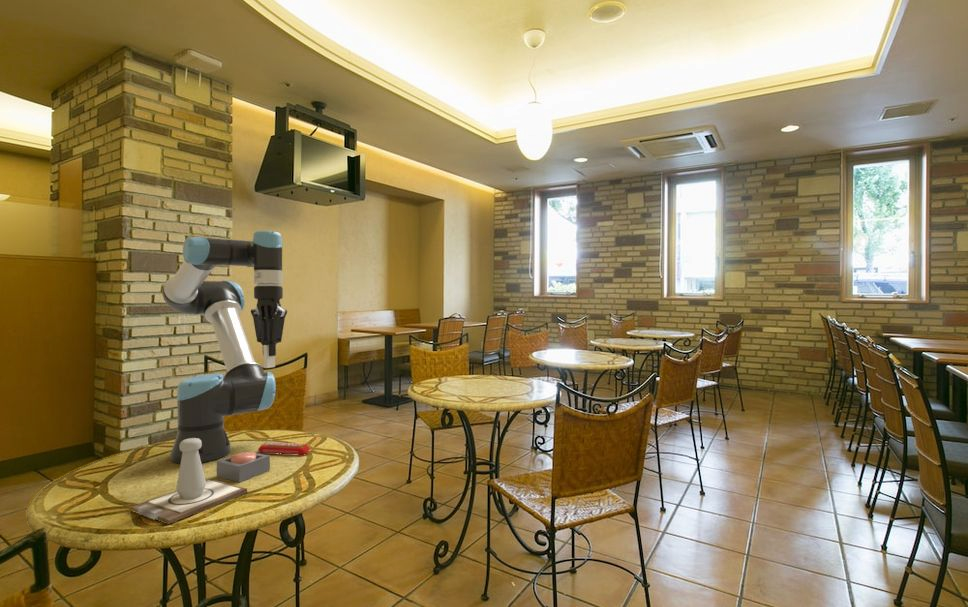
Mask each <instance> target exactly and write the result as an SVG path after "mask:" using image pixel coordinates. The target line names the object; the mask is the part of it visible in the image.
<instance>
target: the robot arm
mask: <svg viewBox="0 0 968 607" xmlns="http://www.w3.org/2000/svg"><path fill="white" fill-rule="evenodd" d="M252 238H253V239H252V240H241V239H239V240H238V239H225V238H224V239H223V238H213V237H212V238H211V237H205V236H204V237H203V236H198V237H197V236H195V237H194V236H190V237H187V238H185V239H184V241H183V245H182V246H183V247H182V258H183V260H184V261H183V262H182V264H181V265H180V267H179V268H178V269H177V271H176V273H175V275H174V276H172V277H170V278H169V279H167V280H166V282H165V283H164V285H163V286H162V291H161V292H162V293H161V294H162V298H163V300H164V302H165V303H166V304H167V306H169V307H170V308H171V309H172V310H173V311H176V312H178V313H181V314H185V315H203V316H204V318H205V320H206V321H207V322H208V323H210V324H212V328H213V331H214V334H215V337H216V340H217V343H218V344H217V345H218V347H219V350H220V354H221V356H222V359H223V363H224V366H225V369H226V373H225V374H224V375H223V373H220V372H214V373H205V374H200V375H195V376H192V377H191V376H190V377H188V378H186V379H183V380H181V382H179V384H178V385H177V394H176V401H177V402H176V403H177V433H176V436H175V440H174V443H173V446H172V449H171V452H170V461H171V462H172V463H175V464H181V459H182V453H183V452H182V451H180V447H179V446H180V443H181V442H182V441H183V440H185V439H189V438H199V439H200V440H201V442H202V446H201V448H200V449H199V450H198V452H199V456H200V460H201V463H206V462H210V461H215V460H220V459H221V458H222V459H223V458H225V457H226V456H228V455H229V454H230V453H231V448H232V447H231V442H230V439H229V437H228V434H227V432H226V429H225V425H224V424H225V423H224V418H225V417H228V416H234V415H240V414H247V413H253V412H259V411H262V410H267V409H269V408H270V407H271V406H272V405H273V403H274V400H275V397H276V392H277V391H276V389H277V387H276V378H275V375H274V374H273V373H272V372H271V371H267V372H265V370H264V369H270V368H275V367H276V355H277V350H276V349H277V344H279V343H281V342H282V340H283V334H284V332H283V331H284V326H285V320H286V319H285V318H286V316H287V314H288V310H287V309H283V307H282V303H281V301H280V300H283V298H284V297H283V295H284V292H283V291H284V290H283V289H284V287H283V286H281V285H283V284H284V281H283V280H284V278H283V239H282V234H281V233H280V232H277V231H272V230H257V231H255V232H254V233H253V236H252ZM217 266H234V267H235V266H236V267H237V266H239V267H240V266H241V267H248V268H253V283H254V284H255V286H254V287H253V298H254V299H255V300H257V302H256V307H255V308H254V309H253V308H252V309H250V314H251V316H252V319H253V325H254V331H255V337H256V343H260V344H261V346H262V358H263V366H262V364H260V363H258V362H256V360H255V358H254V355H253V351H252V349H251V346H250V342H249V340H248V338H247V334H246V333H245V329H244V327H243V323H242V320H241V317H240V315H241V313H242V311H244V307H245V297H244V296H245V294H244V291H243V289H242V287H241V285H240V284H238V283H237V282H235V281H230V280H229V281H228V280H219V281H215V280H206V279H207V278H208V277H209V275H210V274H211V272H212V271H213V270H214V269H215V267H217Z"/></svg>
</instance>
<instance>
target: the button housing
mask: <svg viewBox="0 0 968 607" xmlns="http://www.w3.org/2000/svg"><path fill="white" fill-rule="evenodd" d="M245 452H251V451H250V450H247V451H245ZM255 453H256V459H254V460H251V461H249V462H246V463H243V464H237V463H233V462H231V456H228V457H223V458H222V459H221V458H220V459H217V460H216V477H217V476H218V477H219V478H221V477H222V479H226V480H229V481H230V480H231V481H233V482H238V483H242V482H244V481H247V480H249V479H252V478H255V477H257V476H260V475H262V473H263V474H265V473H267V471H268V472H270V471H271V463H270V462H271V456H270V455H268V454H264V453H260V452H258V453H257V452H255ZM269 470H270V471H269ZM264 472H265V473H264ZM259 474H260V475H259Z"/></svg>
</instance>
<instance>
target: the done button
mask: <svg viewBox="0 0 968 607" xmlns="http://www.w3.org/2000/svg"><path fill="white" fill-rule="evenodd" d="M256 453H257V452H253V451H250V452H246V451H243V452H238V453H235V454H233V455H231V456H230V457H231V462H233V463H237V464H243V463H246V462H249V461H251V460H254V459H256Z"/></svg>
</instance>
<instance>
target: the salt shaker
mask: <svg viewBox="0 0 968 607" xmlns="http://www.w3.org/2000/svg"><path fill="white" fill-rule="evenodd" d="M201 446H202V442H201V440H200V439H199V438H189V439H185V440H183V441H182V442H181V443H180V446H179V447H180V451H182V452H183V453H182V459H181V464H180V465H179V470H178V476H177V482H176V487H175V489H176V490H175V491H177V492H178V494H179V496H180V498H182V499H184V500H188V499H195V498H197V497H199V496H201V495H202V493H203V490H204V488H205V486H206V480H207V479H206V476H205V472H204V468H203V464H202V462H201V460H200V456H199V452H198V450H199V449H200V448H201Z"/></svg>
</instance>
